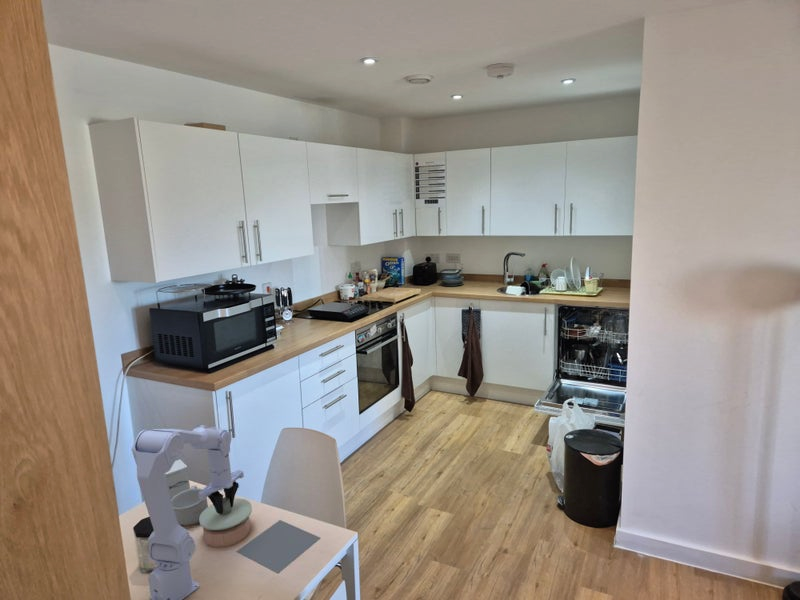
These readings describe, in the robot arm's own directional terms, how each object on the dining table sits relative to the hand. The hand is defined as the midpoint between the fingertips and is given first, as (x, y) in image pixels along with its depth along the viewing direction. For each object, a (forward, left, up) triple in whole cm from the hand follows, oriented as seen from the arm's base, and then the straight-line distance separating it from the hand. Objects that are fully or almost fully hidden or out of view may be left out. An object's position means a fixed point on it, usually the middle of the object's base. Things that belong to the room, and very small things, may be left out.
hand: (224, 509), depth 154 cm
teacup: (0, +17, -8) cm, 19 cm away
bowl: (0, 0, -8) cm, 8 cm away
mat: (+4, -18, -8) cm, 20 cm away
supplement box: (+3, +30, -8) cm, 31 cm away
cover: (0, 0, -2) cm, 2 cm away
